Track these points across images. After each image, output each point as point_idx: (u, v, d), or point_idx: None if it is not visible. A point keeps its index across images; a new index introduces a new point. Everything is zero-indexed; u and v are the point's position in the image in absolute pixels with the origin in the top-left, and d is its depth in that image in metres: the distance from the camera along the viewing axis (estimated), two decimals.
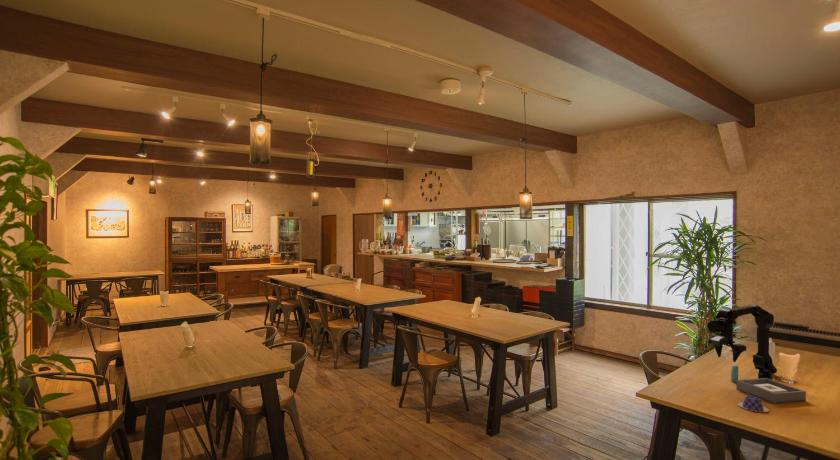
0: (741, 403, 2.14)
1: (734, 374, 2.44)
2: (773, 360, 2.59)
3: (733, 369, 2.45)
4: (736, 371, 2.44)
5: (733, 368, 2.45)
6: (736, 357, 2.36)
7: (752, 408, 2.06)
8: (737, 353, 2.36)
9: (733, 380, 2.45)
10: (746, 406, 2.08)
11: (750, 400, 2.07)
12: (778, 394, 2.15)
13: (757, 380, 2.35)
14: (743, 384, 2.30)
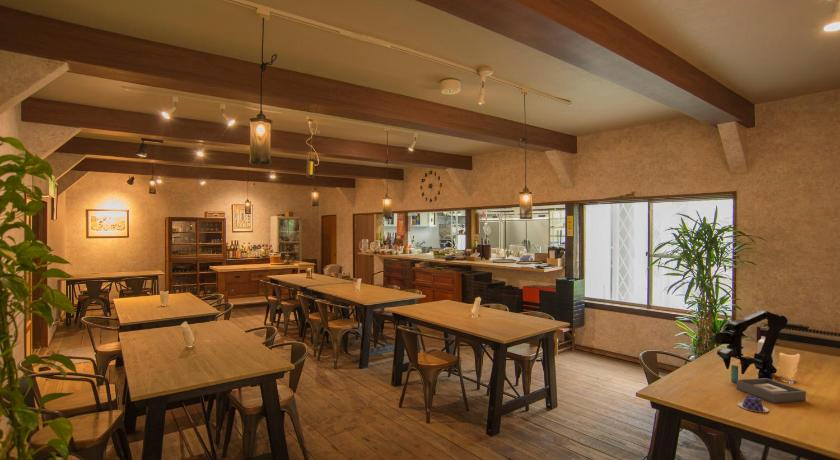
0: (741, 403, 2.14)
1: (734, 374, 2.44)
2: (773, 360, 2.59)
3: (733, 369, 2.45)
4: (736, 371, 2.44)
5: (733, 368, 2.45)
6: (744, 369, 2.40)
7: (752, 408, 2.06)
8: (745, 366, 2.40)
9: (733, 380, 2.45)
10: (746, 406, 2.08)
11: (750, 400, 2.07)
12: (778, 394, 2.15)
13: (757, 380, 2.35)
14: (743, 384, 2.30)
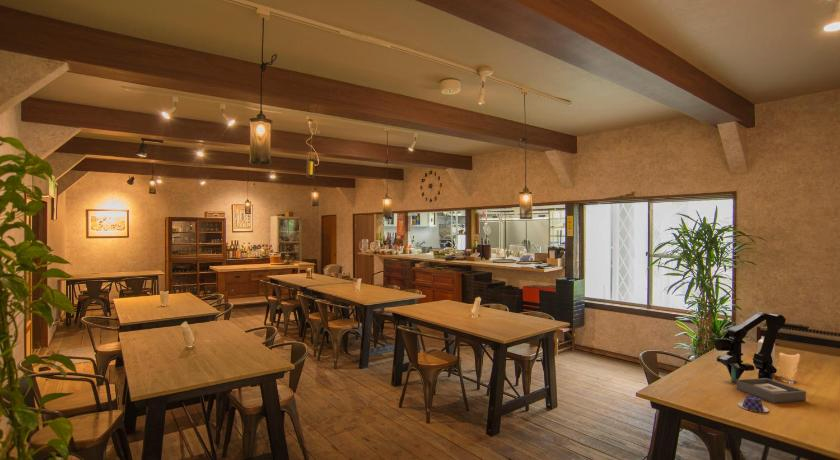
0: (741, 403, 2.13)
1: (734, 374, 2.44)
2: (773, 360, 2.59)
3: (733, 369, 2.45)
4: None
5: (733, 368, 2.45)
6: (739, 375, 2.43)
7: (752, 408, 2.06)
8: (740, 371, 2.43)
9: (733, 380, 2.45)
10: (746, 406, 2.08)
11: (750, 400, 2.07)
12: (778, 394, 2.15)
13: (757, 380, 2.35)
14: (743, 384, 2.30)
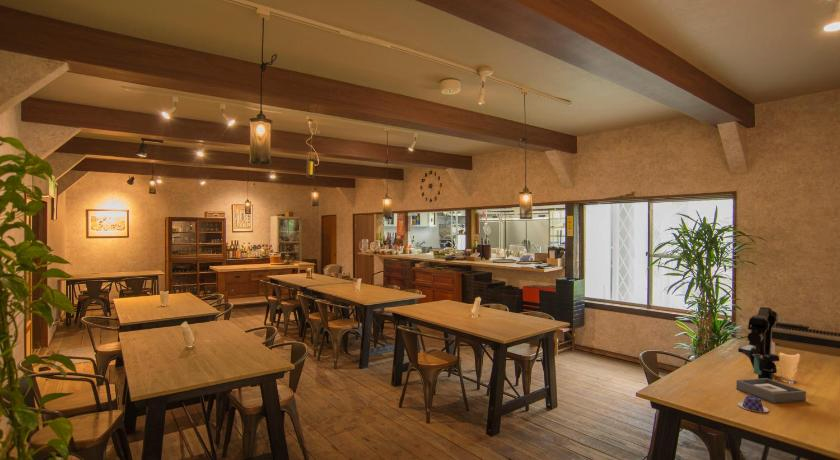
0: (741, 403, 2.13)
1: (757, 366, 2.31)
2: None
3: (756, 360, 2.31)
4: None
5: (756, 359, 2.31)
6: (763, 366, 2.29)
7: (753, 408, 2.06)
8: (764, 362, 2.29)
9: (756, 371, 2.31)
10: (746, 406, 2.08)
11: (750, 400, 2.07)
12: (778, 394, 2.15)
13: (757, 380, 2.35)
14: (743, 384, 2.30)
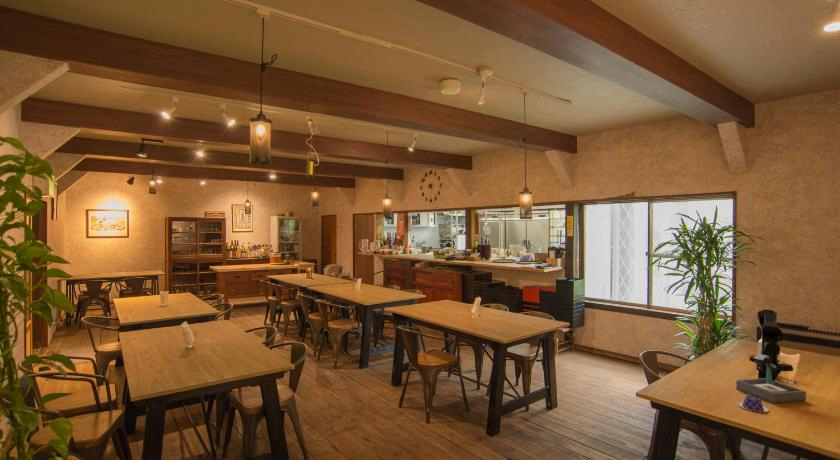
0: (741, 403, 2.13)
1: (770, 375, 2.25)
2: None
3: (768, 369, 2.25)
4: None
5: (768, 368, 2.25)
6: (776, 375, 2.23)
7: (753, 408, 2.06)
8: (777, 371, 2.23)
9: (768, 381, 2.25)
10: (747, 406, 2.08)
11: (751, 400, 2.07)
12: (778, 394, 2.15)
13: (757, 380, 2.35)
14: (743, 384, 2.30)
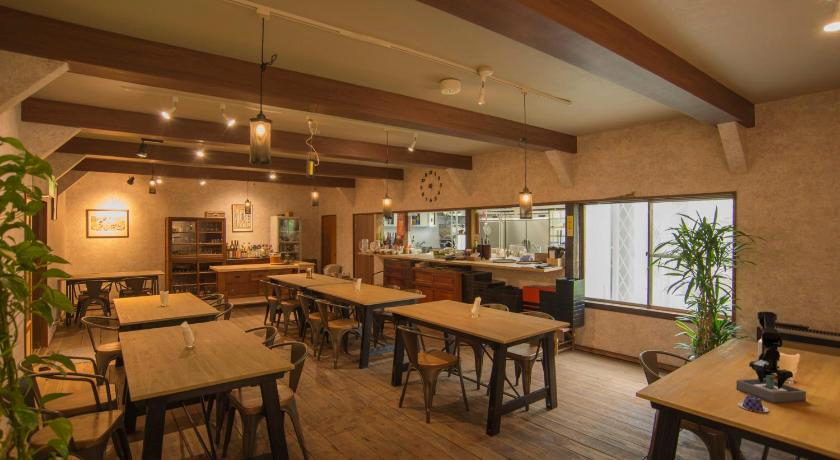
0: (740, 403, 2.13)
1: (769, 385, 2.25)
2: None
3: (768, 379, 2.25)
4: (772, 382, 2.24)
5: (768, 378, 2.25)
6: (781, 384, 2.21)
7: (753, 408, 2.06)
8: (782, 379, 2.20)
9: None
10: (747, 406, 2.08)
11: (751, 400, 2.07)
12: (778, 394, 2.15)
13: (757, 380, 2.35)
14: (743, 384, 2.30)
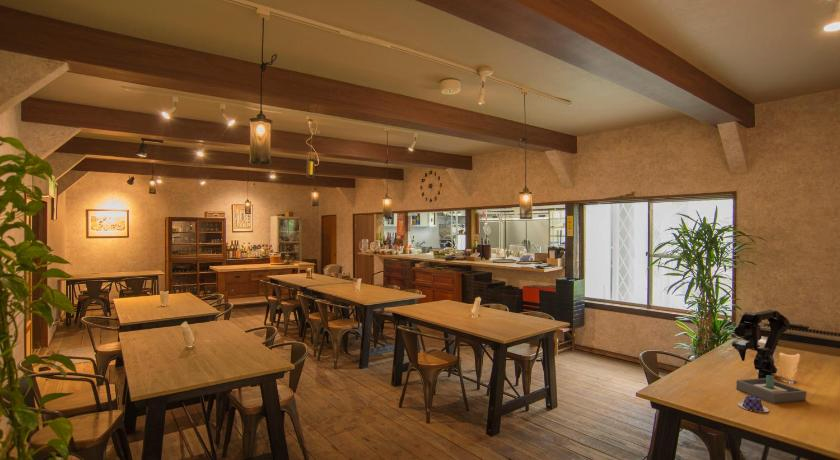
0: (740, 403, 2.13)
1: (769, 385, 2.25)
2: None
3: (768, 379, 2.25)
4: (772, 382, 2.24)
5: (768, 378, 2.25)
6: (761, 361, 2.36)
7: (754, 408, 2.06)
8: (762, 357, 2.36)
9: None
10: (747, 407, 2.08)
11: (751, 400, 2.07)
12: (778, 394, 2.15)
13: (757, 380, 2.35)
14: (743, 384, 2.30)
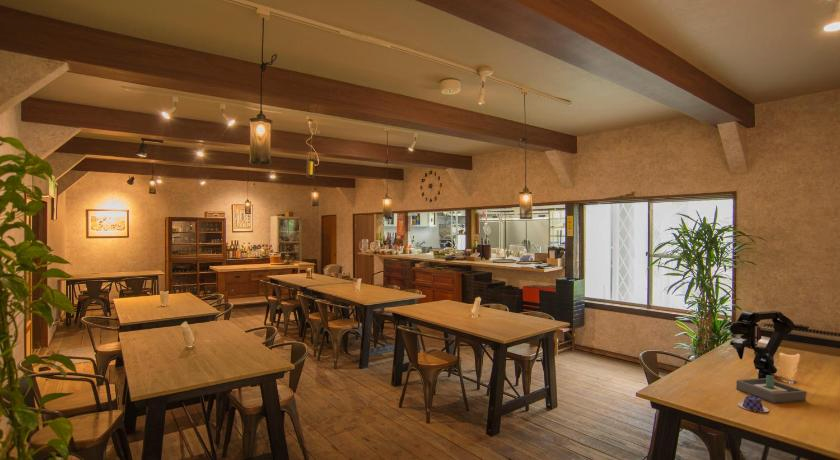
0: (740, 403, 2.13)
1: (769, 385, 2.25)
2: None
3: (768, 379, 2.25)
4: (772, 382, 2.24)
5: (768, 378, 2.25)
6: (758, 359, 2.38)
7: (754, 408, 2.06)
8: (759, 355, 2.38)
9: None
10: (748, 407, 2.07)
11: (752, 400, 2.07)
12: (778, 394, 2.15)
13: (757, 380, 2.35)
14: (743, 384, 2.30)
